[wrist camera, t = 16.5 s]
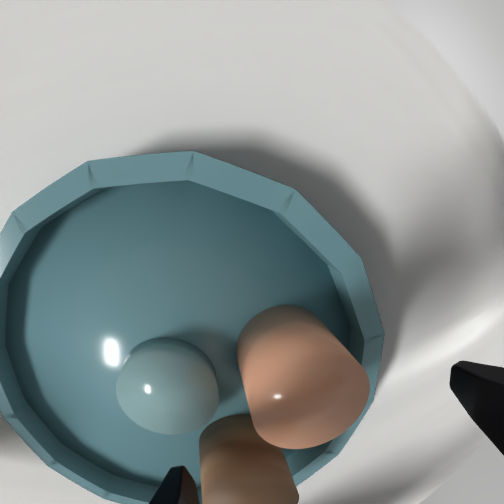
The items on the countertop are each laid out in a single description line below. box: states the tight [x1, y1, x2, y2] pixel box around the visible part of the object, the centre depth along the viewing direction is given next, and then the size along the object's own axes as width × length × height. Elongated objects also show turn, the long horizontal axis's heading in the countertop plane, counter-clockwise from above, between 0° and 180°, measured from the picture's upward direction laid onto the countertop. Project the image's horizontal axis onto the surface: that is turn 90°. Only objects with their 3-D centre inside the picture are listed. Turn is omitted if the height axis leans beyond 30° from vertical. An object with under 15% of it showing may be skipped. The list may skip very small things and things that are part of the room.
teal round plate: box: [0, 151, 384, 504], centre depth 13 cm, size 19×19×2 cm
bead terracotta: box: [236, 305, 370, 449], centre depth 12 cm, size 4×4×4 cm
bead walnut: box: [199, 414, 299, 504], centre depth 13 cm, size 4×4×4 cm
